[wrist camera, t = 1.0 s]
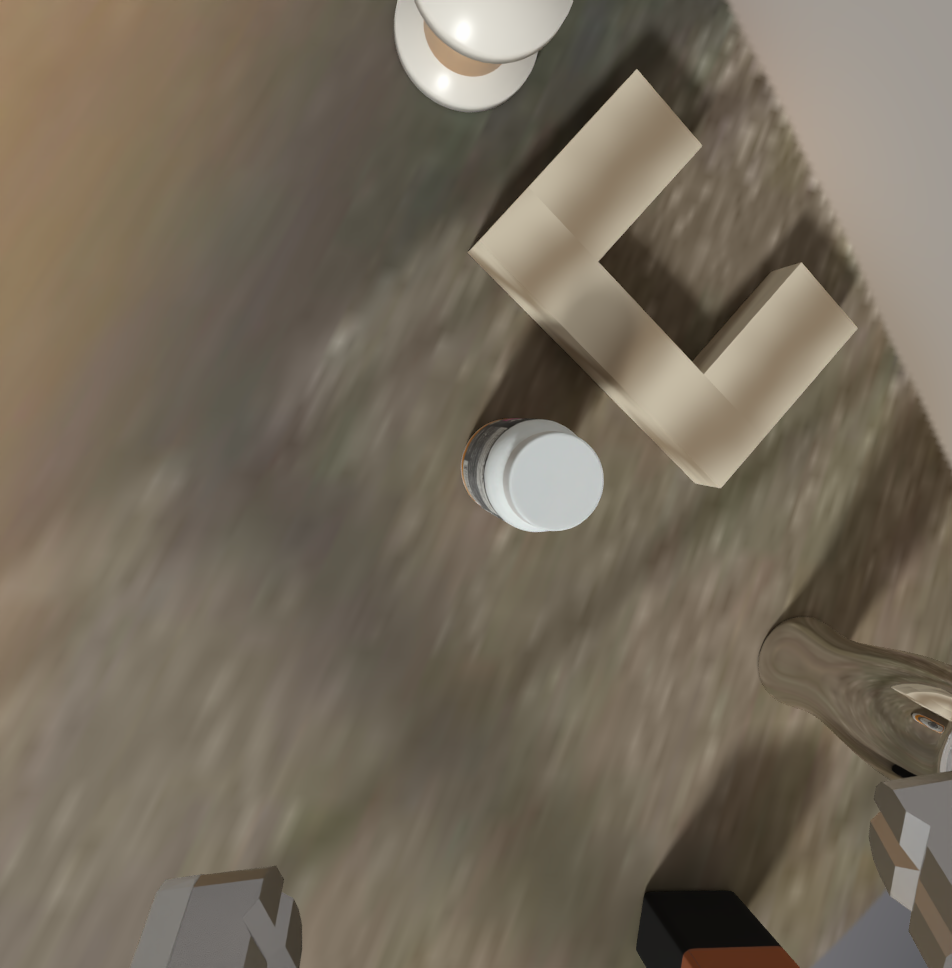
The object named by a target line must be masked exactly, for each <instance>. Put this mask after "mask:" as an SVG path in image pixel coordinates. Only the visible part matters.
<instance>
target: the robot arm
mask: <svg viewBox="0 0 952 968" xmlns="http://www.w3.org/2000/svg"><path fill="white" fill-rule="evenodd" d="M874 801H875V803H876V804H877V806H878V808H879V810H880V812H879V813H878V814H877V815H876V816H875V817H874V818H873V819H872V820H871V821H870V830H869V841H870V846H871V851H872V856H873V860H874V862H875V865H876V868H877V870H878V873H879V875H880V877H881V879H882V881H883V883H884V885H885V887H886V889H887V891H888V893H889V895H890V896H891V897H892V898H894V899H895V900H896V901H898V902H899V903H901V904H902V905H903V906H905V907H906V908H907V909H909V910H910V911H911V919H910V925H909V933H910V934H911V936H912V938H913V940H914V942H915V944H916V946H917V948H918V949H919V951H920V953H921V955H922V957H923V959H924V960H925V962H926V964H927V966H928V968H952V771H947V772H940V773H934V774H927V775H921V776H914V777H908V778H902V779H895V780H889V781H882V782H880V783H879V784H878V785H877V786H876V789H875V795H874ZM283 883H284V878H283V877H282V875H281V873H280V871H279V870H278V868H277V866H269V867H261V868H253V869H245V870H237V871H229V872H222V873H214V874H201V875H194V876H187V877H180V878H173V879H166V880H165V881H164V883H163V884H162V885H161V887H160V888H159V890H158V891H157V893H156V894H155V897H154V900H153V903H152V906H151V908H150V911H149V914H148V917H147V920H146V923H145V925H144V928H143V931H142V934H141V937H140V940H139V942H138V945H137V948H136V951H135V954H134V957H133V959H132V962H131V965H130V968H299V966H300V959H301V953H302V923H301V918H300V913H299V909H298V907H297V905H296V903H295V900H294V898H292V897H290V896H288V895H286V894H284V893H282V888H283Z"/></svg>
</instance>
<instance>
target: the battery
mask: <svg viewBox="0 0 952 968" xmlns="http://www.w3.org/2000/svg"><path fill="white" fill-rule="evenodd" d="M636 950H637V952H638V954H639V956H640V958H641V959H642V961H643V963H644V964H645V966H646V968H800V967H799V966H798V965H797V964H796V963H795V962H794V960H793V959H792V958H791V957H790V956H789V955H788V954H787V952H786V951H785V950H784V949H783V948H782V947H781V946H780V945H779V943H778V942H777V941H776V940H775V939H774V938H773V937H772V935H771V934H770V933H769V932H768V931H767V930H766V929H765V927H764V926H763V925H762V924H761V923H760V922H759V921H758V919H757V918H756V917H755V916H754V915H753V914H752V913H751V911H750V910H749V909H748V908H747V907H746V906H745V905H744V903H743V902H742V901H741V900H740V899H739V898H738V897H737V896H736V894H735V893H733V892H732V891H671V892H648V893H646V894H645V896H644V900H643V906H642V913H641V919H640V926H639V933H638V939H637V946H636Z"/></svg>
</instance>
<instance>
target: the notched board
mask: <svg viewBox="0 0 952 968" xmlns="http://www.w3.org/2000/svg"><path fill="white" fill-rule="evenodd" d="M701 147H702V145H701V144H700V142H699V141H698V140H697V139H696V138H695V137H694V135H693V134H692V133H691V132H690V131H689V130H688V128H687V127H686V126H685V125H684V124H683V122H682V121H681V120H680V119H679V118H678V117H677V115H676V114H675V113H674V112H673V111H672V110H671V108H670V107H669V106H668V105H667V104H666V103H665V101H664V100H663V99H662V98H661V97H660V95H659V94H658V93H657V92H656V91H655V90H654V88H653V87H652V86H651V85H650V84H649V83H648V81H647V80H646V79H645V78H644V77H643V76H642V74H641V73H640V72H639V71H638V70H637V69H636V70H635V71H634V73H633V74H632V75H631V76H630V77H629V78H628V79H627V80H626V81H625V82H624V83H623V84H622V85H621V86H620V87H619V88H618V89H617V90H616V92H615V93H614V94H613V95H612V96H611V97H610V98H609V99H608V100H607V101H606V102H605V103H604V105H603V106H602V107H601V108H600V109H599V110H598V111H597V112H596V113H595V114H594V115H593V117H592V118H591V119H590V120H589V121H588V122H587V123H586V124H585V125H584V126H583V127H582V129H581V130H580V131H579V132H578V133H577V134H576V135H575V136H574V137H573V138H572V139H571V140H570V142H569V143H568V144H567V145H566V146H565V147H564V148H563V149H562V150H561V151H560V152H559V154H558V155H557V156H556V157H555V158H554V159H553V160H552V161H551V162H550V163H549V164H548V166H547V167H546V168H545V169H544V170H543V171H542V172H541V173H540V174H539V175H538V176H537V177H536V179H535V180H534V181H533V182H532V183H531V184H530V185H529V186H528V187H527V188H526V189H525V191H524V192H523V193H522V194H521V195H520V196H519V197H518V198H517V199H516V200H515V201H514V203H513V204H512V205H511V206H510V207H509V208H508V209H507V210H506V211H505V212H504V213H503V214H502V216H501V217H500V218H499V219H498V220H497V221H496V222H495V223H494V224H493V225H492V226H491V228H490V229H489V230H488V231H487V232H486V233H485V234H484V235H483V236H482V237H481V238H480V240H479V241H478V242H477V243H476V244H475V245H474V246H473V247H472V248H471V249H470V250H469V252H468V254H469V255H470V256H471V257H472V258H473V259H474V260H475V261H476V262H477V263H478V264H479V265H480V266H481V267H482V268H483V269H484V270H485V271H486V272H487V273H488V274H489V275H490V276H491V277H492V278H493V279H494V280H495V281H496V282H497V283H498V284H499V285H500V286H501V287H502V288H503V289H504V290H505V291H506V292H507V293H508V294H509V295H510V296H511V297H512V298H513V299H514V300H515V301H516V302H517V303H518V304H519V305H520V306H521V307H522V308H523V309H524V310H525V311H526V312H527V313H528V314H529V315H530V316H531V317H532V318H533V319H534V320H535V321H536V322H537V323H538V324H539V326H540V327H541V328H542V329H543V330H544V331H545V332H546V333H547V334H548V335H549V336H550V337H551V338H552V339H553V340H554V341H555V342H556V343H557V344H558V345H559V346H560V347H561V348H562V349H563V350H564V351H565V352H566V353H567V354H568V355H569V356H570V357H571V358H572V359H573V360H574V361H575V362H576V363H577V364H578V365H579V366H580V367H581V368H582V369H583V370H584V371H585V372H586V373H587V374H588V375H589V376H590V377H591V378H592V379H593V380H594V381H595V382H596V383H597V384H598V385H599V386H600V387H601V388H602V389H603V390H604V391H605V392H606V393H607V394H608V395H609V396H610V397H611V398H612V399H613V401H614V402H615V403H616V404H617V405H618V406H619V407H620V408H621V409H622V410H623V411H624V412H625V413H626V414H627V415H628V416H629V417H630V418H631V419H632V420H633V421H634V422H635V423H636V424H637V425H638V426H639V427H640V428H641V429H642V430H643V431H644V432H645V433H646V434H647V435H648V436H649V437H650V438H651V439H652V440H653V441H654V442H655V443H656V444H657V445H658V446H659V447H660V448H661V449H662V450H663V451H664V452H665V453H666V454H667V455H668V456H669V457H670V458H671V459H672V460H673V461H674V462H675V463H676V464H677V465H678V466H679V467H680V468H681V469H682V470H683V471H684V472H685V473H686V475H687V476H688V477H689V478H690V479H691V480H692V481H693V482H694V483H696V484H701V485H706V486H712V487H717V488H721V487H722V486H723V485H724V484H725V483H726V482H727V480H728V479H729V478H730V477H731V476H732V475H733V473H734V472H735V471H736V470H737V469H738V467H739V466H740V465H741V464H742V463H743V462H744V460H745V459H746V458H747V457H748V456H749V455H750V453H751V452H752V451H753V450H754V449H755V448H756V446H757V445H758V444H759V443H760V442H761V441H762V439H763V438H764V437H765V436H766V435H767V434H768V432H769V431H770V430H771V429H772V428H773V427H774V425H775V424H776V423H777V422H778V421H779V420H780V418H781V417H782V416H783V415H784V414H785V413H786V411H787V410H788V409H789V408H790V407H791V406H792V404H793V403H794V402H795V401H796V400H797V399H798V397H799V396H800V395H801V394H802V393H803V392H804V390H805V389H806V388H807V387H808V386H809V385H810V383H811V382H812V381H813V380H814V379H815V378H816V376H817V375H818V374H819V373H820V372H821V371H822V369H823V368H824V367H825V366H826V365H827V364H828V362H829V361H830V360H831V359H832V358H833V357H834V355H835V354H836V353H837V352H838V351H839V350H840V348H841V347H842V346H843V345H844V344H845V343H846V341H847V340H848V339H849V338H850V337H851V336H852V334H853V333H854V332H855V331H856V330H857V329H858V328H857V327H856V325H855V324H854V323H853V322H852V321H851V320H850V318H849V317H848V316H847V315H846V314H845V313H844V311H843V310H842V309H841V308H840V307H839V306H838V304H837V303H836V302H835V301H834V300H833V298H832V297H831V296H830V295H829V294H828V293H827V291H826V290H825V289H824V288H823V287H822V286H821V284H820V283H819V282H818V281H817V280H816V279H815V277H814V276H813V275H812V274H811V273H810V272H809V270H808V269H807V268H806V267H805V266H804V264H803V263H802V262H800V263H797V264H794V265H791V266H787V267H784V268H781V269H777V270H774V271H771V272H770V273H769V274H768V275H767V277H766V278H765V279H764V280H763V281H762V282H761V283H760V285H759V286H758V287H757V288H756V289H755V290H754V291H753V293H752V294H751V295H750V296H749V297H748V298H747V299H746V301H745V302H744V303H743V304H742V305H741V306H740V307H739V309H738V310H737V311H736V312H735V313H734V314H733V315H732V317H731V318H730V319H729V320H728V321H727V322H726V323H725V325H724V326H723V327H722V328H721V329H720V330H719V331H718V333H717V334H716V335H715V336H714V337H713V338H712V339H711V341H710V342H709V343H708V344H707V345H706V346H705V347H704V349H703V350H702V351H701V352H700V353H699V354H698V355H697V357H696V358H695V359H694V360H693V361H691V360H690V359H689V358H688V357H687V356H686V355H685V354H684V353H683V352H682V351H681V350H680V348H679V347H678V346H677V345H676V344H675V343H674V342H673V341H672V340H671V339H670V338H669V337H668V336H667V335H666V334H665V332H664V331H663V330H662V329H661V328H660V327H659V326H658V325H657V324H656V323H655V322H654V321H653V320H652V319H651V317H650V316H649V315H648V314H647V313H646V312H645V311H644V310H643V309H642V308H641V307H640V306H639V305H638V304H637V303H636V301H635V300H634V299H633V298H632V297H631V296H630V295H629V294H628V293H627V292H626V291H625V290H624V289H623V288H622V287H621V285H620V284H619V283H618V282H617V281H616V280H615V279H614V278H613V277H612V276H611V275H610V274H609V273H608V272H607V270H606V269H605V268H604V267H603V266H602V265H601V264H600V263H599V262H598V261H599V260H600V259H601V258H602V257H603V256H604V255H605V253H606V252H607V251H608V250H609V249H610V248H611V247H612V246H613V245H614V243H615V242H616V241H617V240H618V239H619V238H620V237H621V236H622V235H623V233H624V232H625V231H626V230H627V229H628V228H629V227H630V226H631V225H632V223H633V222H634V221H635V220H636V219H637V218H638V217H639V216H640V215H641V213H642V212H643V211H644V210H645V209H646V208H647V207H648V206H649V205H650V203H651V202H652V201H653V200H654V199H655V198H656V197H657V196H658V195H659V193H660V192H661V191H662V190H663V189H664V188H665V187H666V186H667V185H668V183H669V182H670V181H671V180H672V179H673V178H674V177H675V176H676V175H677V173H678V172H679V171H680V170H681V169H682V168H683V167H684V166H685V165H686V163H687V162H688V161H689V160H690V159H691V158H692V157H693V156H694V155H695V153H696V152H697V151H698V150H699V149H700V148H701Z"/></svg>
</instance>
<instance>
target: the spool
mask: <svg viewBox="0 0 952 968" xmlns="http://www.w3.org/2000/svg"><path fill="white" fill-rule="evenodd" d="M572 3H573V0H398V1H397V6H396V10H395V16H394V41H395V46H396V51H397V54H398V57H399V60H400V62H401V64H402V66H403V68H404V70H405V72H406V74H407V75H408V77H409V78H410V80H411V81H412V82H413V83H414V85H415V86H416V87H417V88H418V89H419V90H420V91H421V92H422V93H423V94H424V95H425V96H427V97H428V98H430V99H431V100H432V101H434V102H436V103H437V104H439V105H441V106H444V107H446V108H448V109H452V110H455V111H460V112H482V111H487V110H490V109H493V108H496V107H498V106H500V105H502V104H503V103H505V102H506V101H508V100H509V99H510V98H511V97H513V96H514V95H515V94H516V93H517V91H518V90H519V89H520V88H521V86H522V85H523V83H524V82H525V80H526V79H527V77H528V76H529V74H530V72H531V70H532V68H533V66H534V64H535V61H536V57H537V54H538V51H539V50H541V49H542V48H543V47H544V46H545V45H546V44H547V43H548V42H549V41H550V40H551V39H552V38H553V36H554V35H555V34H556V32H557V31H558V29H559V28H560V26H561V25H562V23H563V21H564V20H565V18H566V16H567V15H568V12H569V10H570V8H571V5H572Z"/></svg>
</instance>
